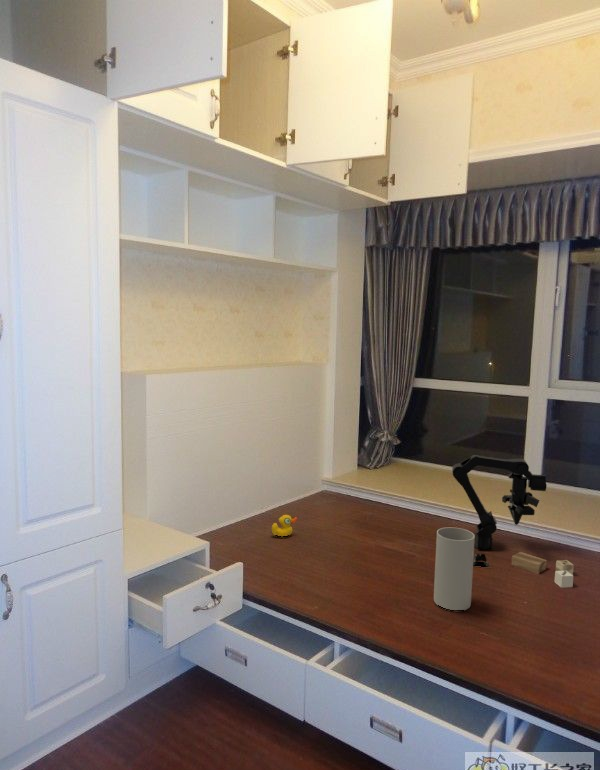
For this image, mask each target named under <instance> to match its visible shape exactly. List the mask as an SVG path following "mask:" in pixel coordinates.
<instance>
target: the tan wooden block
mask: <svg viewBox="0 0 600 770" xmlns="http://www.w3.org/2000/svg"><path fill="white" fill-rule="evenodd" d="M513 565H514V566H513ZM511 566H513V567H516V566H517V567H516V568H519V567H520V568H519V569H521V570H522V569H523V570H525V571H528V572H531V573H534V574H537V575H539V574H540V572H541V573H542V572H544V571H545V570H546V569H547V559H544V558H541V557H538V556H535V555H531V554H528V553H526V552H522V551H519V552H517V553H515V554H513V555H512V556H511Z"/></svg>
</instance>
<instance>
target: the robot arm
mask: <svg viewBox="0 0 600 770" xmlns="http://www.w3.org/2000/svg"><path fill="white" fill-rule="evenodd" d="M477 466H479V467H480V466H481V467H488V468H494V469H500V470H505V471H508V472H511V473H508V474H507V477H508V478H509V479H512V482H511V483H512V484H511V489H510V488H509V492H510V493H511V494H507V495H506V494H504V495H503V496H502V498H501V499H502V500H501V501H502V502H503V503H504V504H506V503H507V502H508V503H509V505H508V506H507V508H508V511H509V512H510V515H511V518H512V520H513V523H514V525H516V526H518V525H519V523H520V521H521V519H522V517H523V516H535V509H534V508H537V507H538V506H539V503H540V499H538V498H536V497H535V496H534V495H533V494H532V493H531V492H529V491H527V488H529V489H530V491H535V492H536V491H537V492H546V491H547V477H546V474H533V473H532V472H531V471H530V467H529V465H528V463H527V461H526V459H524V458H519V457H518V458H508V459H505V458H499V457H498V458H497V457H492V456H485V455H478V454H473V455H471V456H470V457H469V458H468V457H467V458H466V459H464V460H462V461H461V462H459V463H455V464H453V466H452V469H451V471H452V475H453V478H454V479H455V480H456V482H457V483H458V484H459V485H461V487H462V488H463V490H464V492H465V494H466V495H467V498H468V499H469V501H470V502H471V504H472V506H473V509H474V510H475V512H476V514H477V516H478V518H479V522H480V523H478V524H476V526H475V528H476V532H475V534H474V535H475V539H474V549H477V550H478V551H479V552H480V551H481V552H483V551H485V552H488V551H494V549H493V543H494V541H493V540H494V539H493V534H494V533H496V531H497V524H498V523H497V519H496V518H495V516H493V512H492V511H488V510H487V509H486V508H485V506H484V504H483V503H482V501H481V499H480V497H479V496H478V494H477V492H476V489H475V488H474V486H473V484H472V483H471V481H470V477H469V475H468V474H469V473H470V472H471V471H472V470H473V469H475V468H476V467H477ZM531 506H533V507H534V508H533V507H531Z"/></svg>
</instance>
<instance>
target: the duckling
mask: <svg viewBox="0 0 600 770" xmlns="http://www.w3.org/2000/svg"><path fill="white" fill-rule="evenodd" d="M297 518H298V517H296V516H295V517H294V518H292V517H291V515H289V514H284V515H282V516H281V517H279V518H278V522H279V523H280V525H281V527H279V526H278V523H277V522H273V524H272V525H271V532H272V534H273V536H275V535H278V536H287V535H289V536H291V534H292V533H293V527H292V526H291V524H295V523H296V522H297Z"/></svg>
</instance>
